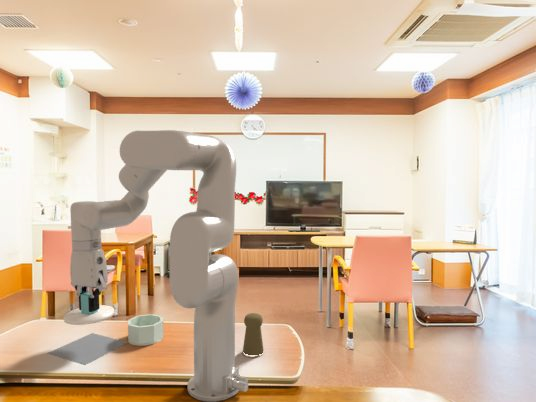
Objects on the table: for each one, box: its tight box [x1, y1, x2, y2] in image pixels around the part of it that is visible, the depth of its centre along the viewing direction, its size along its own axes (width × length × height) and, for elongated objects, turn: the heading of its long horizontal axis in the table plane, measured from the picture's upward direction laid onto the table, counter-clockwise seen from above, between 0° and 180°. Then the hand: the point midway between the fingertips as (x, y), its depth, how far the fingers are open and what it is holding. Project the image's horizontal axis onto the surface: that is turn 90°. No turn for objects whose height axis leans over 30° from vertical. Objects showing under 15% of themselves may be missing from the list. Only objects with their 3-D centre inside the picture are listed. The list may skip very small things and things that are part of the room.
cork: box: [242, 312, 265, 355], centre depth 110 cm, size 6×6×11 cm
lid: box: [63, 291, 115, 326], centre depth 111 cm, size 13×13×6 cm
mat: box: [47, 332, 130, 366], centre depth 112 cm, size 15×15×1 cm
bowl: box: [127, 313, 165, 347], centre depth 118 cm, size 10×10×6 cm
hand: (89, 309), depth 111 cm, fingers closed on lid, 3 cm apart
